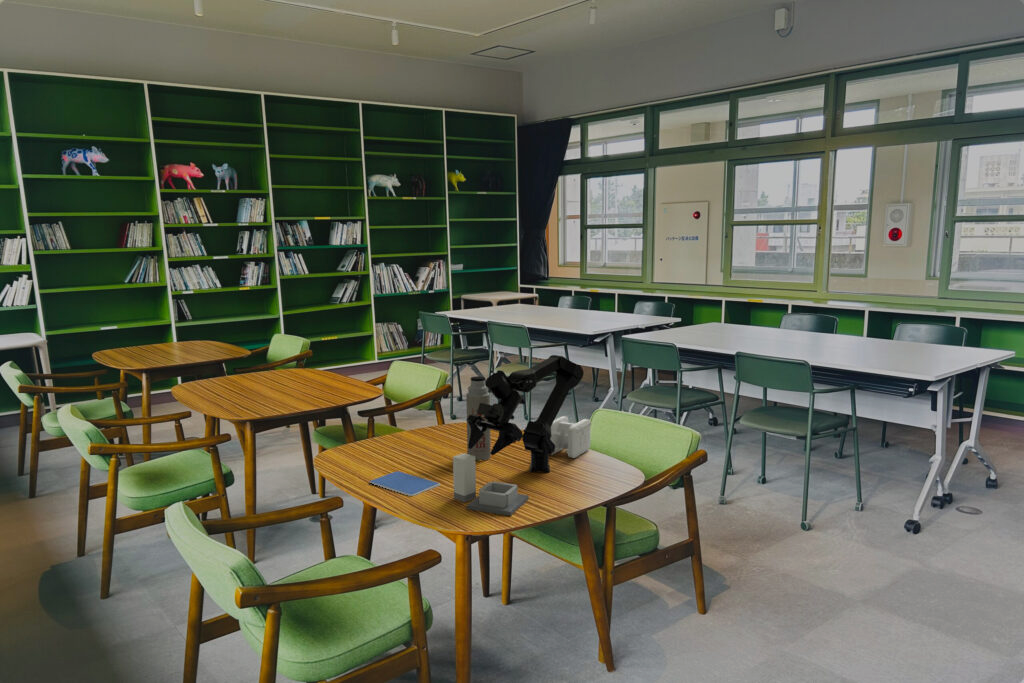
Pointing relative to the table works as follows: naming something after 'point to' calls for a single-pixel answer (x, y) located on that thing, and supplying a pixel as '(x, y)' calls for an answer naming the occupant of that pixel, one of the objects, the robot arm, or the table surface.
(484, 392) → the thermos bottle
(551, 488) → the table surface
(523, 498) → the socket
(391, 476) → the blue spiral notebook
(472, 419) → the robot arm
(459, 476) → the plug
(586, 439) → the cable organizer
